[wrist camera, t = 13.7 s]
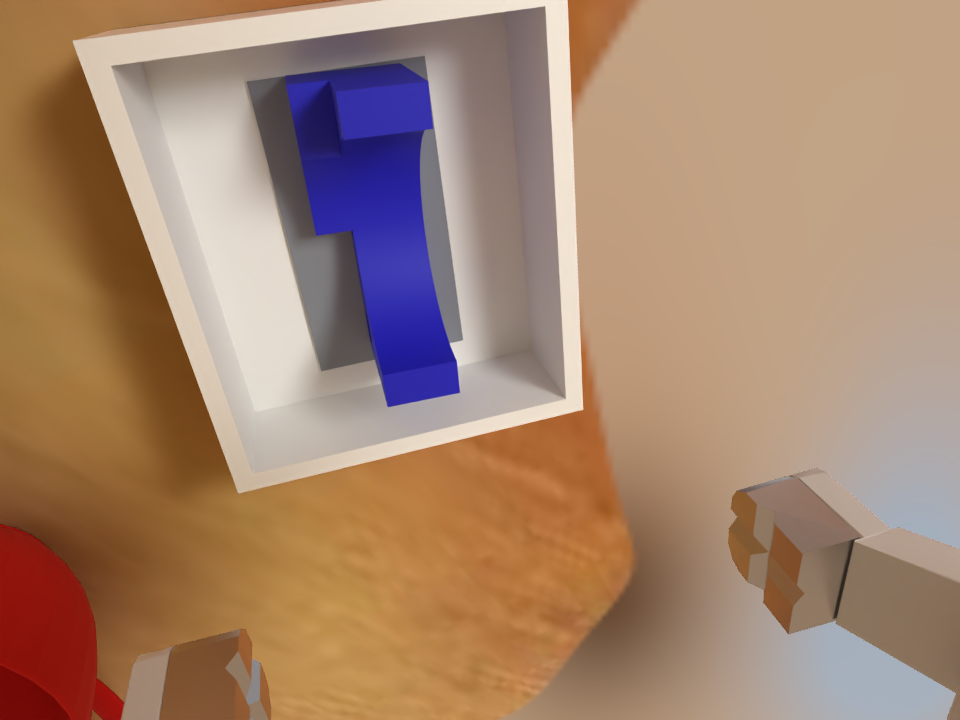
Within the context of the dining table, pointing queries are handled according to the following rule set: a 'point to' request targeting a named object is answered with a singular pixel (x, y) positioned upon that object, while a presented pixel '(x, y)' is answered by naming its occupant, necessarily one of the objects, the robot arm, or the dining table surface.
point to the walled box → (331, 257)
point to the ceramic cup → (46, 638)
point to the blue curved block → (378, 212)
